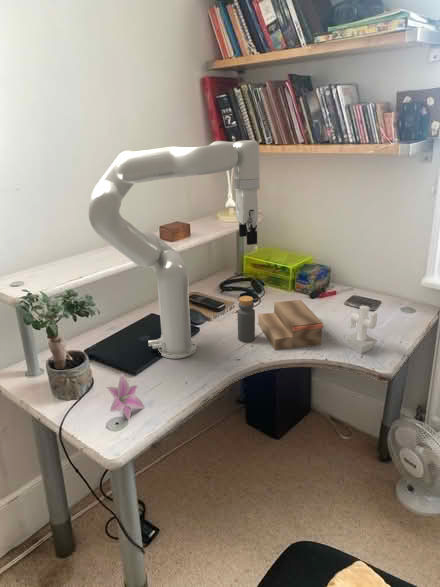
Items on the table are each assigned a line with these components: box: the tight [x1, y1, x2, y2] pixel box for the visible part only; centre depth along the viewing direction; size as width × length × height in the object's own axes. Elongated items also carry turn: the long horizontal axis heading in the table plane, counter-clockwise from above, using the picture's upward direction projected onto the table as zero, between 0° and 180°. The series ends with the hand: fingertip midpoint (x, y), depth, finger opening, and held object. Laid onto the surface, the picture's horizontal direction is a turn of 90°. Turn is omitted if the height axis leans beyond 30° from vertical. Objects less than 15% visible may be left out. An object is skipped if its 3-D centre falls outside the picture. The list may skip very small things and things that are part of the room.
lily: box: [106, 373, 146, 421], centre depth 120 cm, size 11×11×9 cm
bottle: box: [237, 295, 256, 344], centre depth 154 cm, size 6×6×15 cm
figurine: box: [344, 305, 379, 355], centre depth 145 cm, size 7×9×15 cm
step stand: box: [257, 299, 324, 351], centre depth 158 cm, size 16×21×8 cm
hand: (248, 240), depth 142 cm, fingers open, 9 cm apart
